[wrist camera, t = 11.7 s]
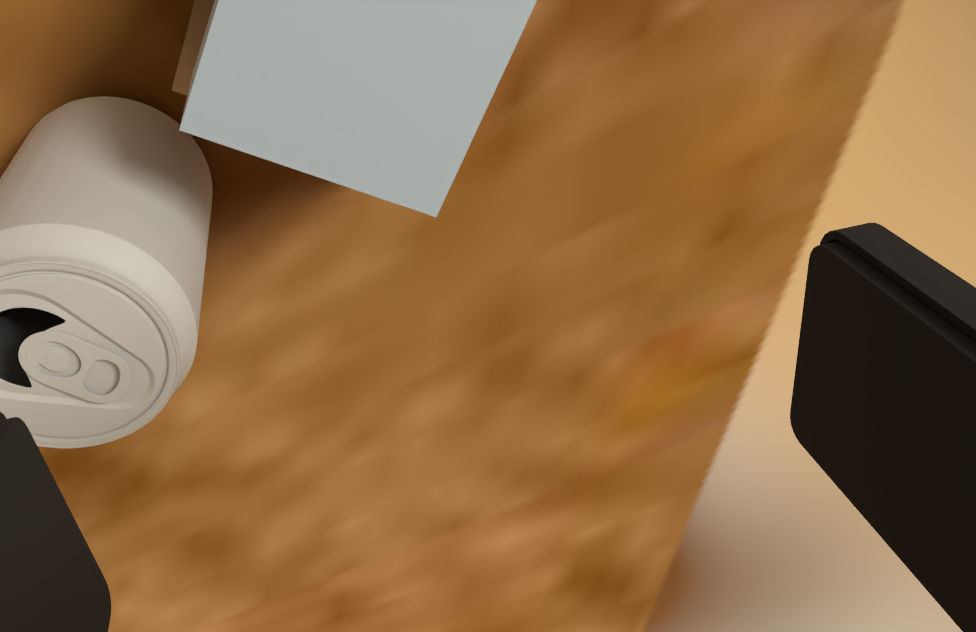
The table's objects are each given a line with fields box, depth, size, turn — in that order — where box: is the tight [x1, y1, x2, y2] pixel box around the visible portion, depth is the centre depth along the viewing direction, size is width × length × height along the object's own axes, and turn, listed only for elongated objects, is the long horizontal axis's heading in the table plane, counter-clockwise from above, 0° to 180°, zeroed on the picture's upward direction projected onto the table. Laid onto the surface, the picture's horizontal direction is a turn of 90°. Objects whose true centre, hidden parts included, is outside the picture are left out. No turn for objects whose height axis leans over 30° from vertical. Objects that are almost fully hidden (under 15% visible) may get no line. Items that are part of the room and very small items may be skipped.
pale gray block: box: [179, 0, 537, 217], centre depth 23 cm, size 7×7×5 cm
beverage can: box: [0, 96, 213, 448], centre depth 26 cm, size 6×6×12 cm
